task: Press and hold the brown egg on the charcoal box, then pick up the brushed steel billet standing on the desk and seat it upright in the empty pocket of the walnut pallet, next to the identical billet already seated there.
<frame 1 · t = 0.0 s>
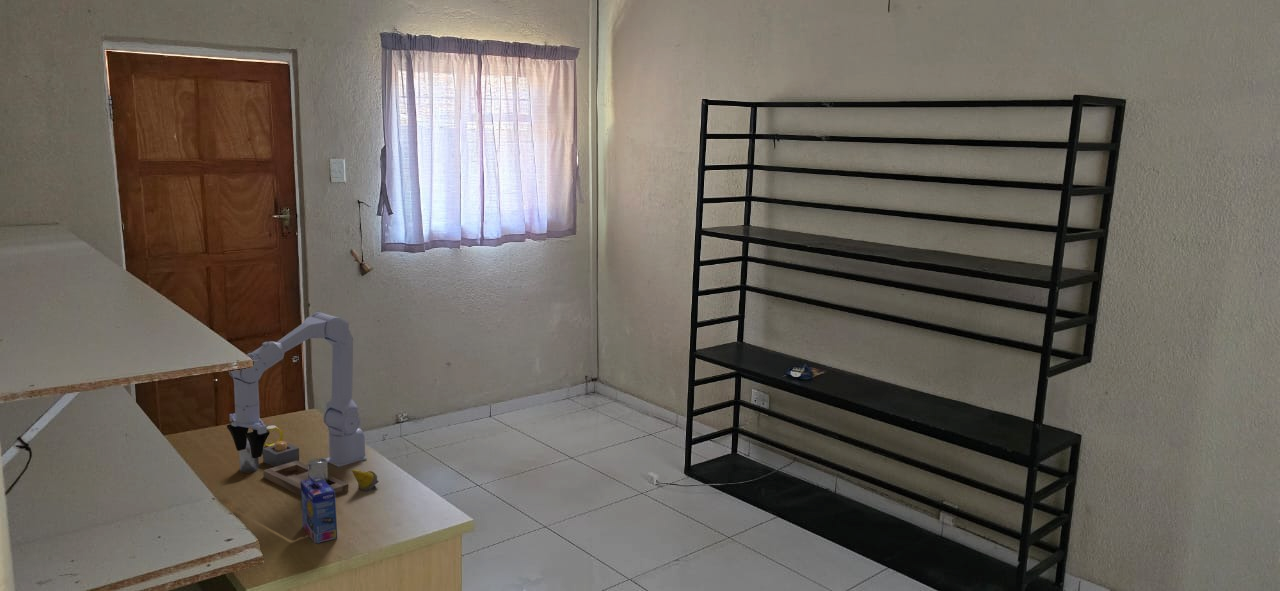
hand: (249, 453, 230), 10 cm above the table, fingers open, 7 cm apart
watch: (272, 446, 263), on the table
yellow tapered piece: (365, 491, 235), on the table
steel billet: (249, 469, 245), on the table
button housing: (281, 461, 252), on the table
ink cartridge box: (319, 534, 210), on the table
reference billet: (318, 490, 232), resting on pallet
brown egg: (280, 449, 251), point 4 cm above the table, slide at 0.0 cm
pallet: (305, 485, 236), on the table
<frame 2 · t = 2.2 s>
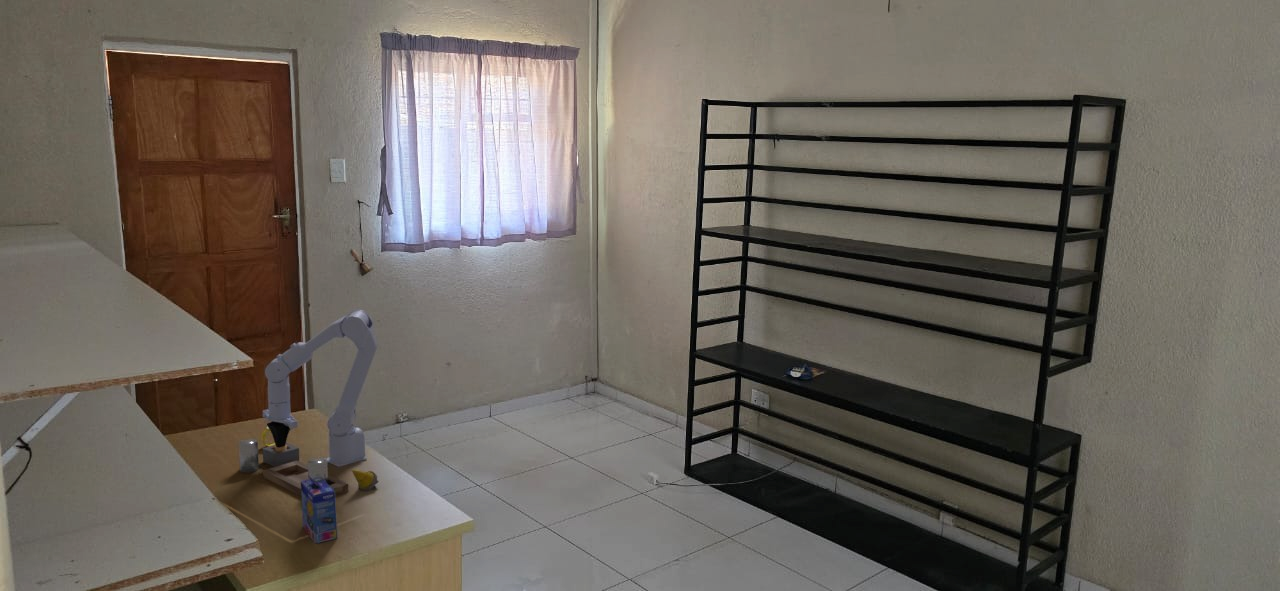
hand: (280, 446, 251), 5 cm above the table, fingers closed, pressing on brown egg
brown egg: (280, 451, 251), point 3 cm above the table, slide at 0.9 cm, touching gripper
everything else where it was.
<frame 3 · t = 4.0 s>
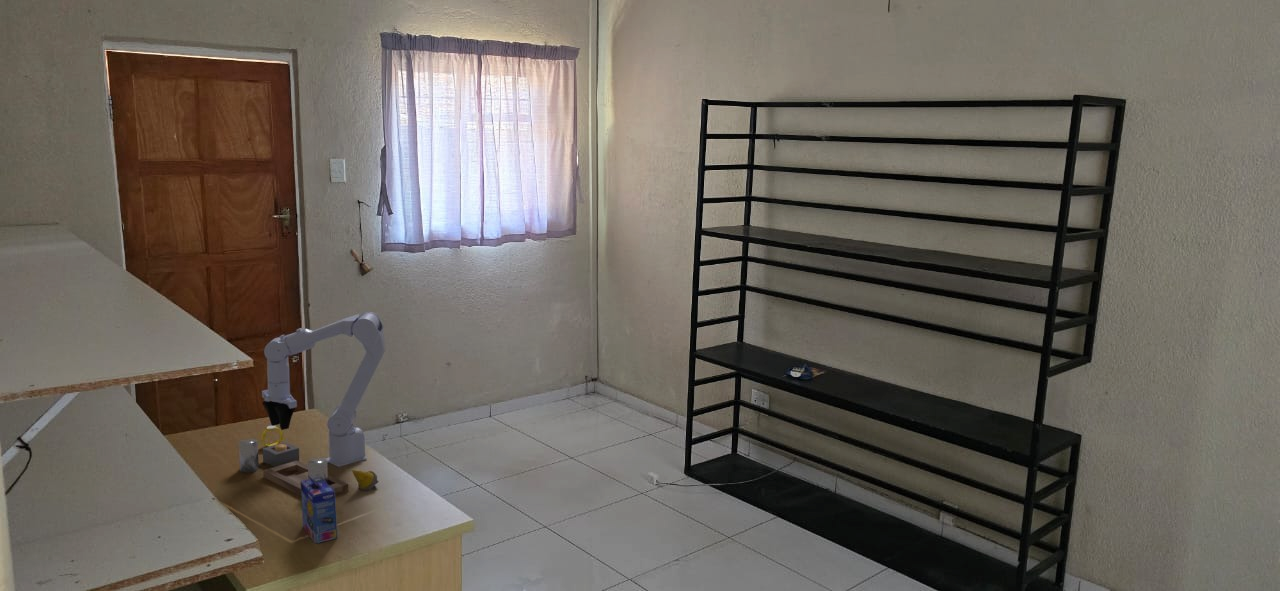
hand: (280, 426, 250), 10 cm above the table, fingers open, 4 cm apart
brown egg: (280, 452, 251), point 3 cm above the table, slide at 0.9 cm
everything else where it was.
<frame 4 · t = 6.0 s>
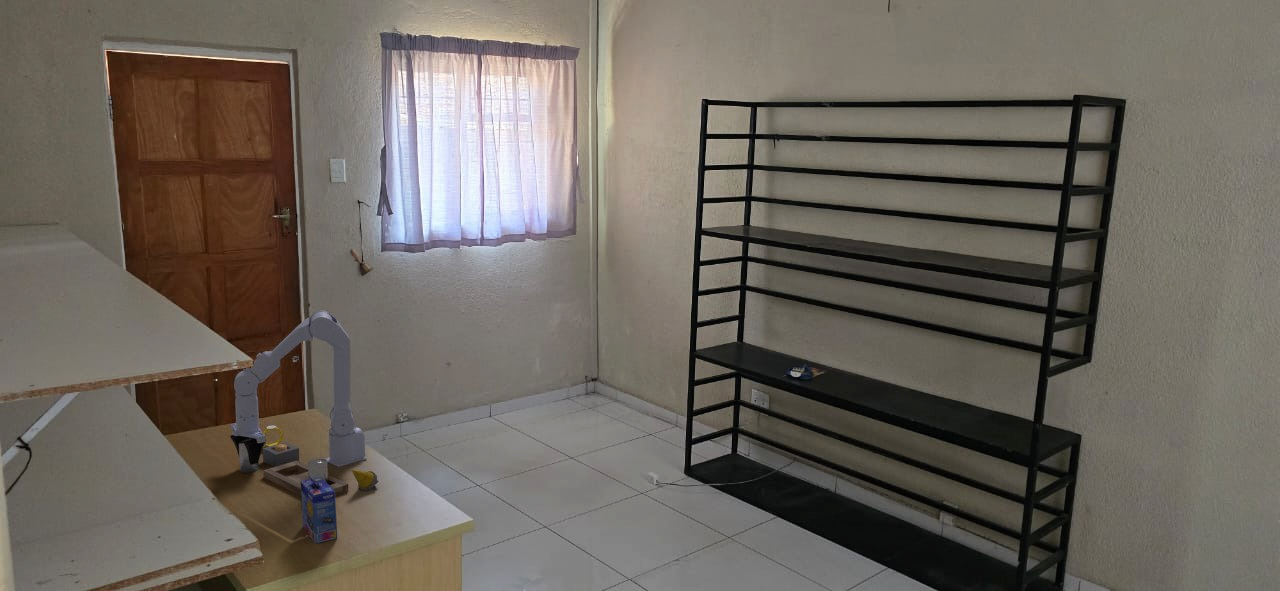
hand: (249, 461, 245), 2 cm above the table, fingers closed on steel billet, 5 cm apart
steel billet: (249, 469, 245), on the table, touching gripper
everything else where it was.
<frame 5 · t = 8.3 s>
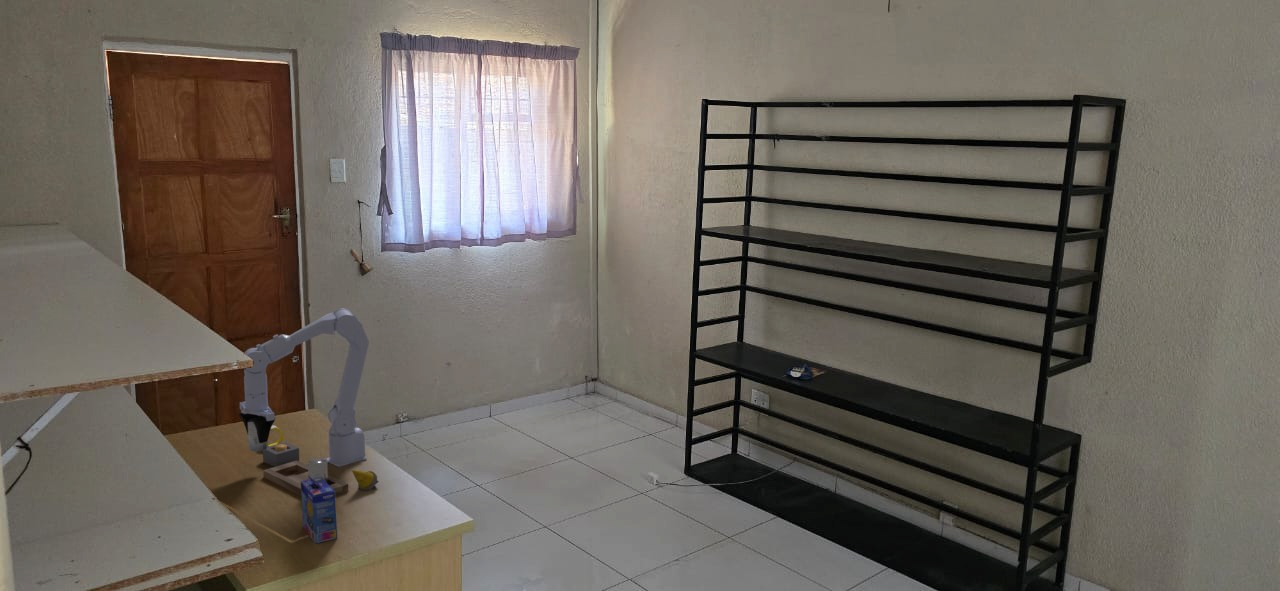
hand: (258, 439, 242), 9 cm above the table, fingers closed on steel billet, 5 cm apart
steel billet: (258, 448, 243), point 7 cm above the table, touching gripper
everything else where it was.
when the fingers open (4 cm above the table, at t = 10.8 s): steel billet drops 1 cm, resting on pallet.
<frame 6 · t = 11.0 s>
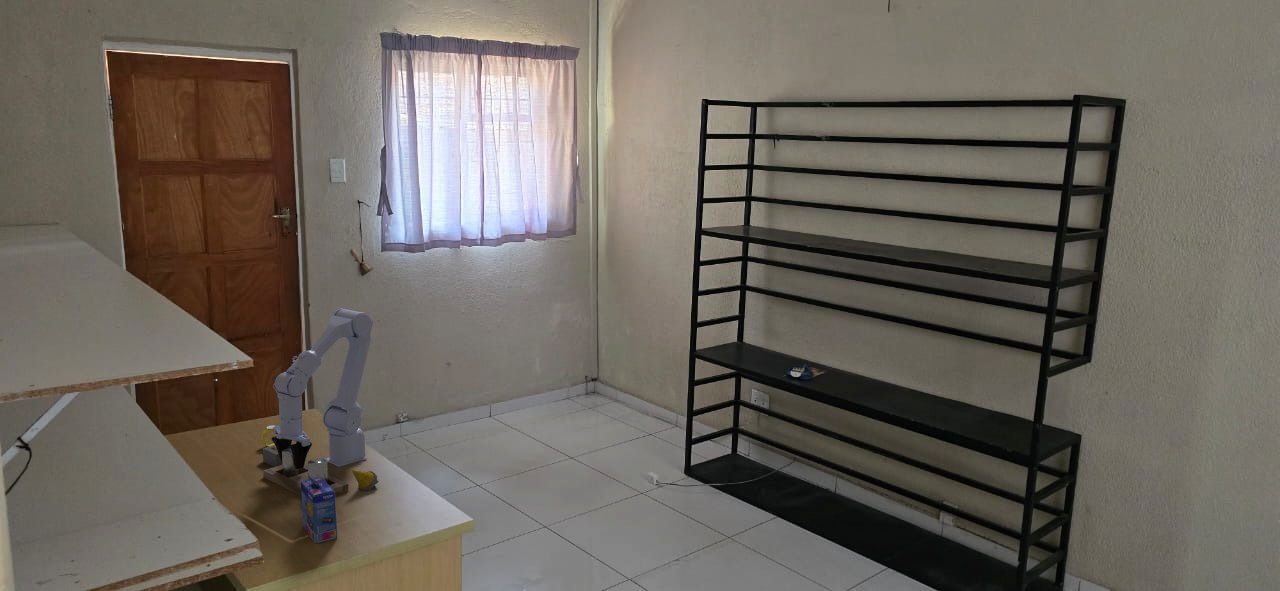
hand: (292, 464, 239), 4 cm above the table, fingers open, 6 cm apart
steel billet: (292, 478, 239), point 1 cm above the table, touching pallet
everything else where it was.
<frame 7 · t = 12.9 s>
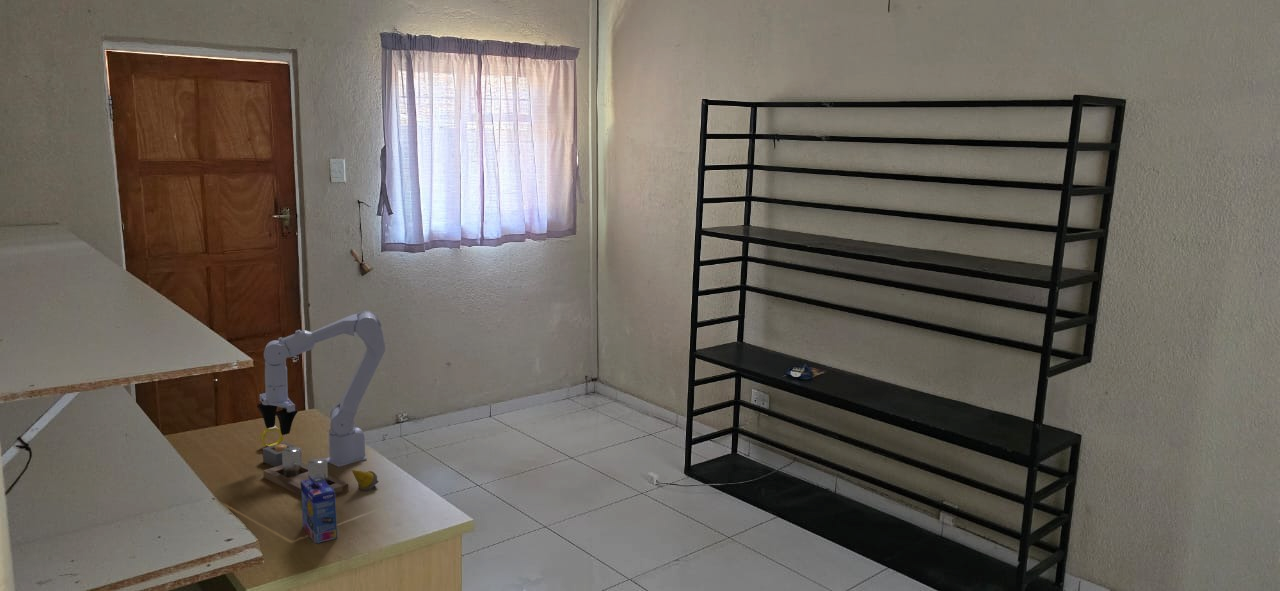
hand: (277, 430, 246), 10 cm above the table, fingers open, 7 cm apart
nothing on the table moved.
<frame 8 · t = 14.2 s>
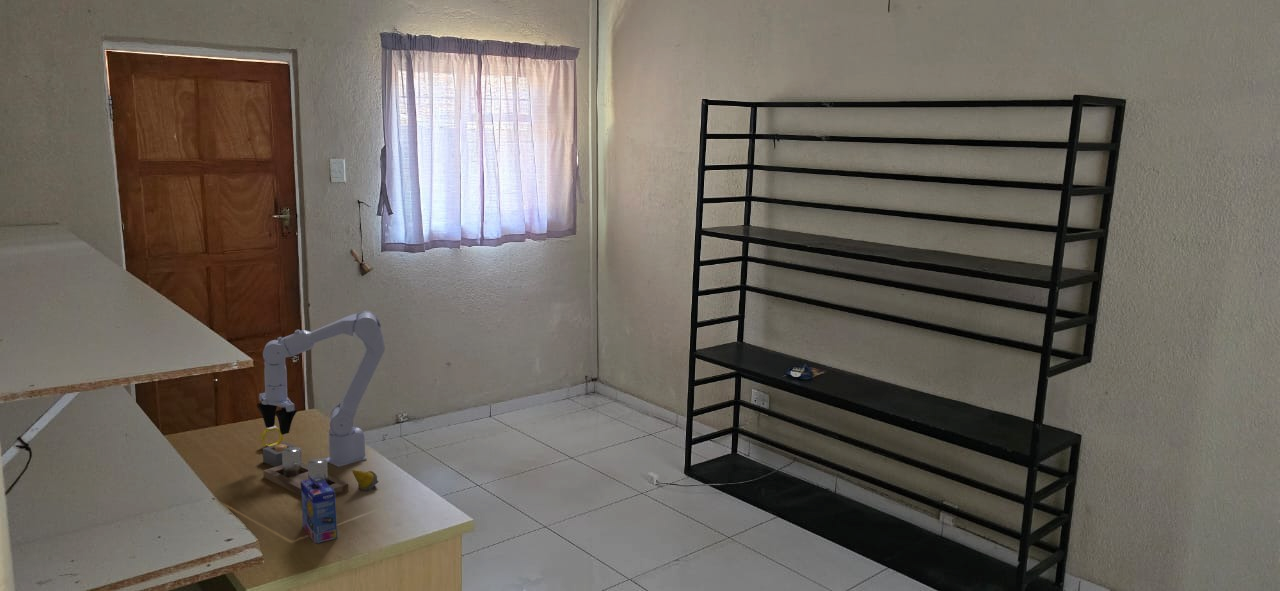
hand: (277, 430, 247), 10 cm above the table, fingers open, 7 cm apart
nothing on the table moved.
at the end: steel billet 0.1 cm from the target spot on the pallet, point 0.5 cm above the pallet's base; steel billet tilted 0°; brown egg slide at 0.9 cm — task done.
